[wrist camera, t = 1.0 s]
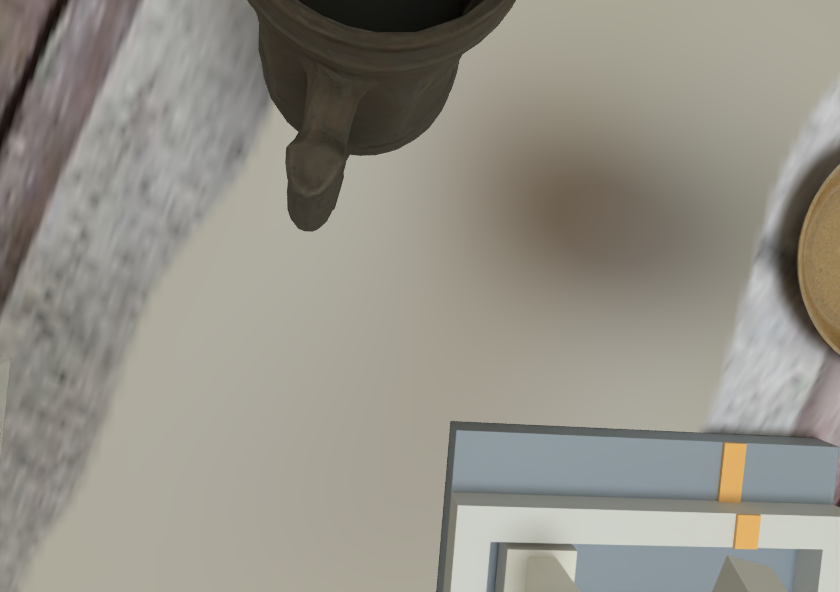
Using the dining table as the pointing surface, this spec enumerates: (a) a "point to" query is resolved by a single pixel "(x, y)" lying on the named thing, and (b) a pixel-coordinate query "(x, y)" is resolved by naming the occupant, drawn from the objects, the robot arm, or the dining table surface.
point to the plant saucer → (822, 260)
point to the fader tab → (536, 567)
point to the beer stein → (360, 80)
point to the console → (640, 505)
